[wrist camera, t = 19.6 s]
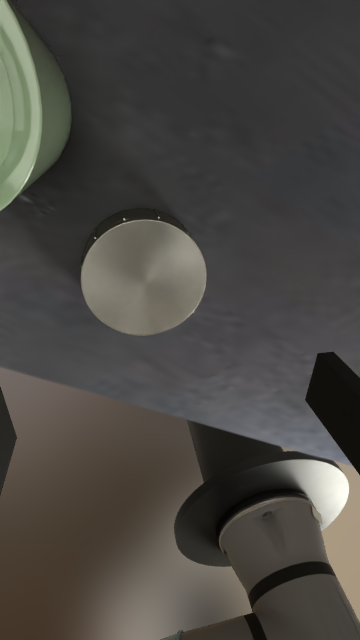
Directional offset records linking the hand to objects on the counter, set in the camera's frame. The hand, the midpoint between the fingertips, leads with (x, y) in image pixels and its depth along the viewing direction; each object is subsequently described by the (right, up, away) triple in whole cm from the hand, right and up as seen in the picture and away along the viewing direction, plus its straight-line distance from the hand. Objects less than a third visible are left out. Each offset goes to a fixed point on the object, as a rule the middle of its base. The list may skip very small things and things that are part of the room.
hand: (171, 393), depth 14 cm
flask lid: (-2, +6, +9) cm, 11 cm away
